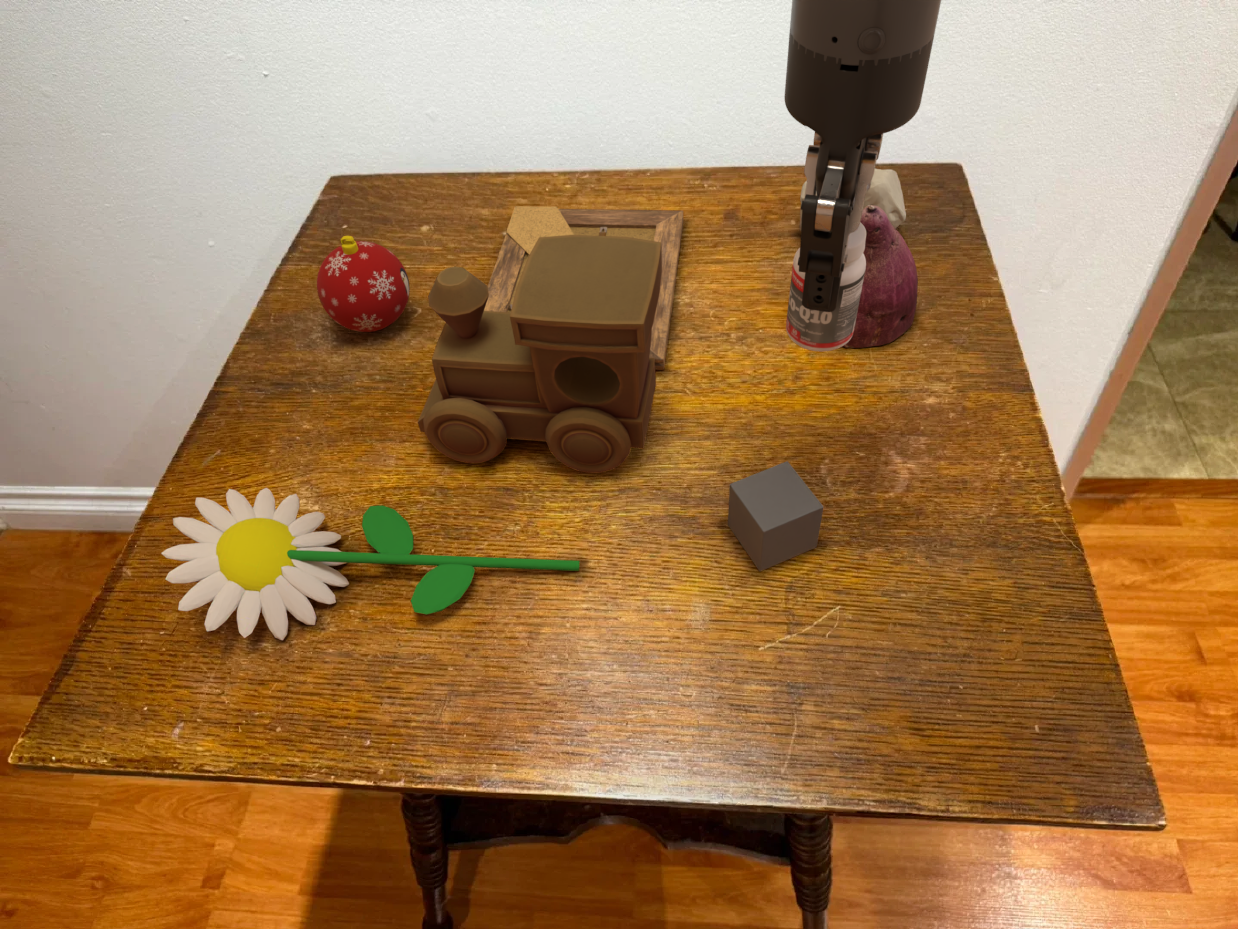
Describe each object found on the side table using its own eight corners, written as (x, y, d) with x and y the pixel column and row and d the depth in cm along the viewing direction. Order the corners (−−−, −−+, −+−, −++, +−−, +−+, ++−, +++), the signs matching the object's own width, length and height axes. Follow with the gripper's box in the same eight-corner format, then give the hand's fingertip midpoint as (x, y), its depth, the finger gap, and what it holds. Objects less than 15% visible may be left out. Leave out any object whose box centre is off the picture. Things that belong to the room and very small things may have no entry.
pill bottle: (771, 333, 63) (780, 233, 57) (812, 301, 65) (825, 201, 59) (826, 363, 61) (842, 262, 55) (867, 329, 63) (886, 227, 57)
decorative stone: (900, 180, 97) (924, 141, 87) (889, 262, 96) (912, 232, 86) (799, 169, 98) (811, 129, 88) (788, 250, 97) (799, 220, 87)
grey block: (817, 547, 68) (824, 506, 64) (759, 572, 66) (763, 532, 63) (782, 501, 71) (787, 460, 67) (727, 524, 70) (729, 483, 66)
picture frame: (517, 220, 99) (467, 364, 84) (514, 205, 98) (463, 350, 82) (683, 222, 97) (664, 371, 81) (683, 208, 95) (663, 357, 80)
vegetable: (883, 381, 83) (919, 285, 70) (782, 338, 86) (798, 238, 72) (927, 298, 87) (970, 191, 73) (829, 259, 89) (852, 149, 76)
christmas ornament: (344, 295, 92) (312, 211, 85) (425, 293, 91) (401, 208, 84) (323, 351, 86) (287, 266, 79) (409, 349, 86) (382, 263, 78)
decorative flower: (580, 518, 74) (209, 503, 72) (582, 483, 70) (191, 467, 68) (575, 660, 66) (159, 647, 64) (577, 630, 62) (135, 615, 60)
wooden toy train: (669, 389, 80) (665, 231, 67) (652, 486, 73) (643, 329, 60) (457, 374, 83) (414, 221, 70) (420, 466, 76) (365, 314, 63)
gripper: (816, -35, 52) (791, 216, 65) (762, 78, 44) (746, 342, 56) (948, -28, 50) (896, 229, 63) (920, 92, 42) (866, 362, 54)
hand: (826, 281), depth 60 cm, fingers closed on pill bottle, 4 cm apart
